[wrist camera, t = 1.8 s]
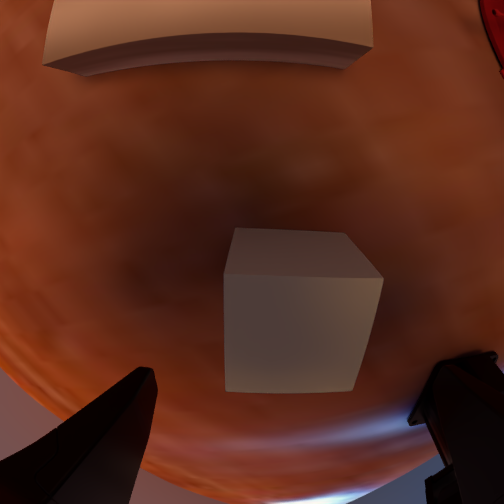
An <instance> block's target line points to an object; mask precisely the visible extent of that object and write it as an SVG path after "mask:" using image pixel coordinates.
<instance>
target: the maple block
mask: <svg viewBox="0 0 504 504" xmlns="http://www.w3.org/2000/svg"><path fill="white" fill-rule="evenodd" d="M372 48H373V28H372V12H371V0H54V4H53V8H52V12H51V16H50V21H49V26H48V31H47V36H46V42H45V48H44V54H43V61H42V65H44V66H48V67H52V68H56V69H60V70H64V71H68V72H71V73H75V74H79V75H82V76H91V75H95V74H100V73H105V72H110V71H116V70H122V69H128V68H134V67H141V66H149V65H157V64H167V63H178V62H192V61H215V60H252V61H275V62H289V63H301V64H310V65H319V66H326V67H334V68H340V69H346V68H347V67H348V66H350V65H351V64H352V63H353V62H355V61H356V60H357V59H359V58H360V57H361V56H363V55H364V54H365V53H367V52H368V51H369V50H371V49H372Z"/></svg>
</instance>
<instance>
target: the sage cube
mask: <svg viewBox="0 0 504 504" xmlns="http://www.w3.org/2000/svg"><path fill="white" fill-rule="evenodd" d="M383 281H384V278H383V277H382V276H381V274H380V273H379V272H378V271H377V270H376V268H375V267H374V266H373V265H372V264H371V262H370V261H369V260H368V259H367V258H366V257H365V255H364V254H363V253H362V252H361V251H360V250H359V249H358V247H357V246H356V245H355V244H354V243H353V242H352V241H351V239H350V238H349V237H348V236H347V235H346V234H345V233H339V232H321V231H302V230H281V229H258V228H235V230H234V234H233V238H232V242H231V246H230V250H229V254H228V258H227V262H226V266H225V270H224V354H225V391H227V392H246V393H323V392H342V391H352V390H353V387H354V384H355V381H356V378H357V375H358V372H359V369H360V366H361V363H362V360H363V356H364V353H365V350H366V347H367V343H368V340H369V336H370V333H371V329H372V326H373V322H374V318H375V314H376V310H377V306H378V302H379V298H380V294H381V290H382V285H383Z"/></svg>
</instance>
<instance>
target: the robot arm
mask: <svg viewBox="0 0 504 504" xmlns="http://www.w3.org/2000/svg"><path fill="white" fill-rule="evenodd" d="M497 359H498V355H497V353H496V352H491V353H486V354H482V355H477V356H472V357H466V358H461V359H455V360H449V361H443V362H440V363H439V364H438V365H436V367H435V368H434V371H433V373H432V375H431V377H430V379H429V381H428V383H427V385H426V387H425V389H424V391H423V393H422V395H421V397H420V399H419V400H418V402H417V404H416V406H415V408H414V410H413V411H412V413H411V415H410V417H409V418H408V420H407V422H408V424H409V426H414V425H419V424H423V423H426V425H427V428H428V430H429V432H430V434H431V436H432V438H433V441H434V443H435V445H436V447H437V450H438V452H439V454H440V456H441V459H442V461H443V464H444V466H445V468H444V469H442V470H441V471H439V472H438V473H436V474H435V475H433V476H430V477H428V478H427V479H425V487H426V491H425V492H426V501H427V504H504V374H503V372H502V371H501V370H500V369H499V367H498V366H497V365H496V364H495V363H496V361H497ZM157 393H158V388H157V383H156V379H155V374H154V371H153V369H152V368H148V367H138V368H136V369H135V370H134V371H132V372H131V373H130V374H128V375H127V376H126V377H124V378H123V379H122V380H120V381H119V382H118V383H116V384H115V385H114V386H112V387H111V388H109V389H108V390H107V391H105V392H104V393H103V394H101V395H100V396H99V397H97V398H96V399H95V400H93V401H92V402H91V403H89V404H88V405H86V406H85V407H84V408H82V409H81V410H80V411H78V412H77V413H75V414H74V415H73V416H71V417H70V418H69V419H67V420H66V421H64V422H63V423H62V424H60V425H59V426H58V427H57V428H55V429H53V430H52V431H50V432H49V433H48V434H46V435H45V436H43V437H42V438H40V439H39V440H37V441H36V442H34V443H32V444H31V445H29V446H27V447H26V448H24V449H22V450H20V451H18V452H16V453H15V454H13V455H11V456H9V457H7V458H5V459H3V460H1V461H0V504H129V501H130V498H131V494H132V491H133V487H134V484H135V480H136V478H137V474H138V471H139V468H140V465H141V461H142V458H143V455H144V452H145V449H146V446H147V442H148V439H149V435H150V430H151V425H152V419H153V414H154V409H155V404H156V399H157Z"/></svg>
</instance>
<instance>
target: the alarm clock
mask: <svg viewBox="0 0 504 504" xmlns="http://www.w3.org/2000/svg"><path fill="white" fill-rule="evenodd" d="M480 7H481V12H482V16H483V19H484V23H485V26H486V29H487V32H488V35H489V37H490V40H491V42H492V45H493V47H494V49H495V51H496V54H497V56H498V58H499V60H500V62H501V64H502V66H503V69H502V70H501V71H499V72H500V74H501V75H502V77H503V79H504V0H480Z"/></svg>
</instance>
